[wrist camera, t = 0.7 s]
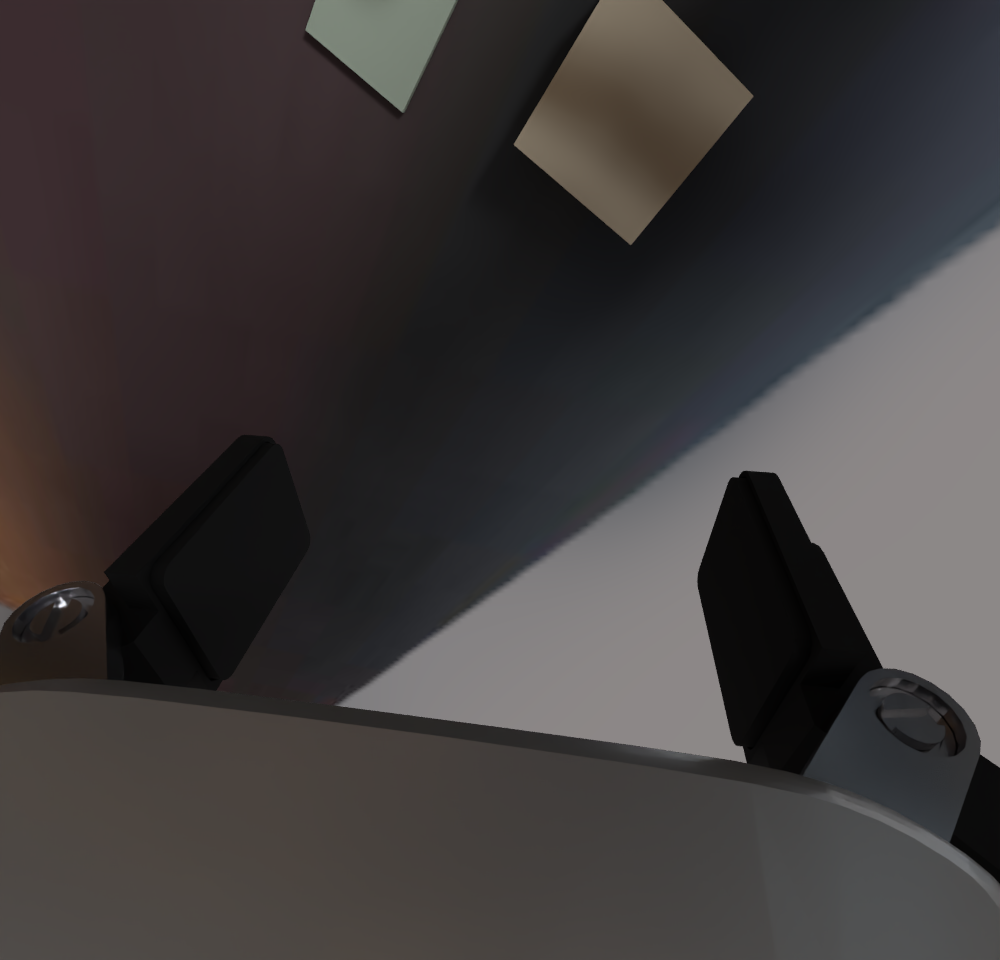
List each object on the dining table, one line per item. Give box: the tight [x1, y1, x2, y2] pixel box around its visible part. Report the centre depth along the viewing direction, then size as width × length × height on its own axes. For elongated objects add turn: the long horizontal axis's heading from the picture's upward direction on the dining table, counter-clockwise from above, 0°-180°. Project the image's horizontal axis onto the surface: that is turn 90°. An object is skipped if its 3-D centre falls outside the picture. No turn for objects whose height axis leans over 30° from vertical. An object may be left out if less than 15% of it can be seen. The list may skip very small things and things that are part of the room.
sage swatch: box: [306, 0, 458, 113], centre depth 26 cm, size 6×6×1 cm
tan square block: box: [514, 0, 753, 245], centre depth 26 cm, size 8×8×4 cm
